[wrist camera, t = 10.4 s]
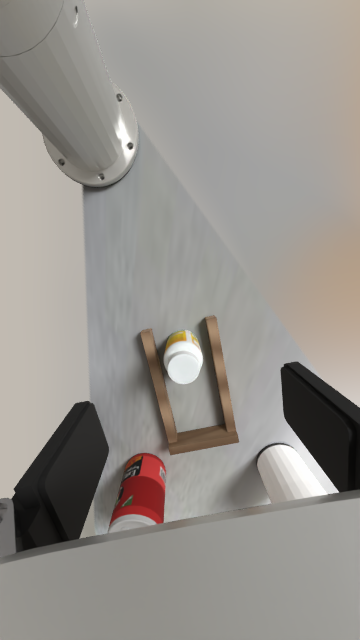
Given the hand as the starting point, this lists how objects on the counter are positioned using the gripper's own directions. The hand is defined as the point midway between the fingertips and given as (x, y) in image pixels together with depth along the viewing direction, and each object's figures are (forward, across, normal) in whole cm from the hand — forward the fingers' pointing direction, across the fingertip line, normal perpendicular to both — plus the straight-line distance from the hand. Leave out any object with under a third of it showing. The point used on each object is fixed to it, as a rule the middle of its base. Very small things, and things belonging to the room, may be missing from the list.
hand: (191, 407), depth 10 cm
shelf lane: (+23, 0, +13) cm, 26 cm away
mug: (+22, -14, +33) cm, 42 cm away
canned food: (+23, +12, +29) cm, 39 cm away
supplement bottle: (+24, 0, +6) cm, 24 cm away
